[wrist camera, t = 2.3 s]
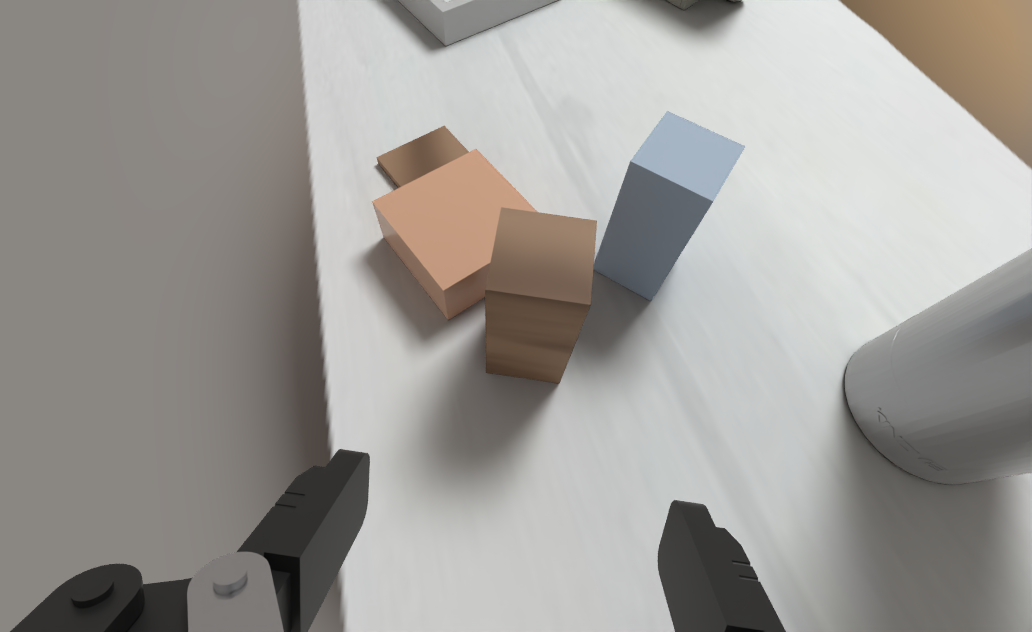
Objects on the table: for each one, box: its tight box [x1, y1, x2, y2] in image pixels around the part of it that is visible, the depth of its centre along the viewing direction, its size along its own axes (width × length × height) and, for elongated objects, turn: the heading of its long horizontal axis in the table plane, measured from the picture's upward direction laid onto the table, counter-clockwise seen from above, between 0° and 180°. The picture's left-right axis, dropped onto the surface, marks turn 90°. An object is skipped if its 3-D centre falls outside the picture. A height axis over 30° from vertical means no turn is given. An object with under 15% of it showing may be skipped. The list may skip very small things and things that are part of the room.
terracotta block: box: [372, 149, 537, 320], centre depth 32 cm, size 8×8×4 cm
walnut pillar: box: [485, 207, 597, 383], centre depth 26 cm, size 4×4×10 cm
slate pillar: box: [593, 111, 745, 301], centre depth 29 cm, size 4×4×10 cm
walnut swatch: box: [377, 126, 469, 188], centre depth 36 cm, size 6×6×1 cm
